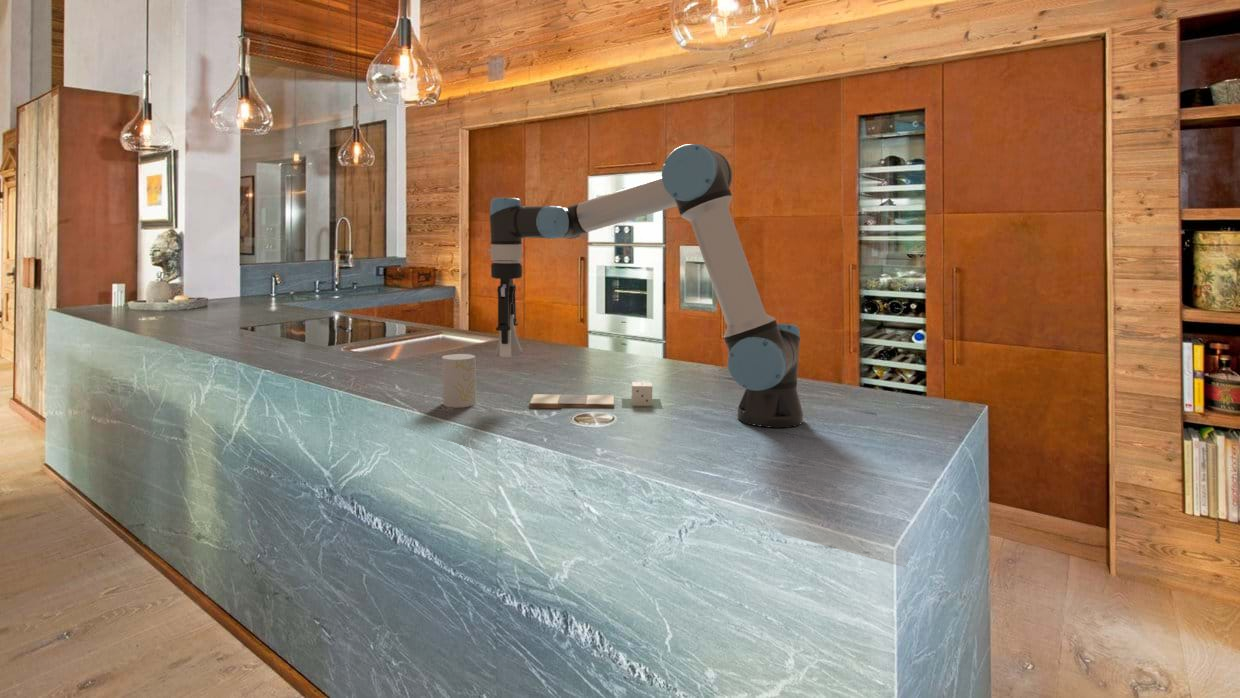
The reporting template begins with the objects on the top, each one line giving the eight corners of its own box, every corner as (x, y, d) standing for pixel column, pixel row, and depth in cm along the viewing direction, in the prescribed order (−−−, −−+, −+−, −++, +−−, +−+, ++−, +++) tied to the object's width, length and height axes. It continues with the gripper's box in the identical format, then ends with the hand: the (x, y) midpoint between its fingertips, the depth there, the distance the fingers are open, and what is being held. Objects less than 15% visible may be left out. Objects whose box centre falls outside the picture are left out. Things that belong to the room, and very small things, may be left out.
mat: (659, 400, 182) (659, 398, 182) (662, 409, 173) (662, 408, 173) (621, 399, 182) (621, 398, 182) (622, 409, 172) (622, 407, 172)
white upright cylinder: (457, 409, 170) (456, 360, 168) (436, 404, 175) (435, 357, 173) (483, 403, 176) (482, 356, 174) (461, 398, 181) (460, 352, 179)
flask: (520, 357, 171) (520, 317, 170) (491, 357, 171) (490, 316, 170) (525, 352, 178) (524, 313, 177) (497, 352, 179) (496, 313, 177)
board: (613, 399, 182) (614, 395, 182) (614, 408, 172) (614, 404, 172) (533, 398, 182) (533, 394, 182) (529, 407, 172) (529, 403, 172)
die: (650, 401, 180) (651, 381, 179) (652, 405, 175) (652, 386, 174) (631, 400, 180) (631, 381, 179) (631, 405, 175) (632, 385, 174)
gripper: (497, 260, 181) (499, 347, 185) (483, 263, 161) (485, 360, 165) (526, 260, 181) (527, 347, 185) (516, 263, 161) (517, 361, 165)
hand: (507, 353), depth 175 cm, fingers closed on flask, 7 cm apart
